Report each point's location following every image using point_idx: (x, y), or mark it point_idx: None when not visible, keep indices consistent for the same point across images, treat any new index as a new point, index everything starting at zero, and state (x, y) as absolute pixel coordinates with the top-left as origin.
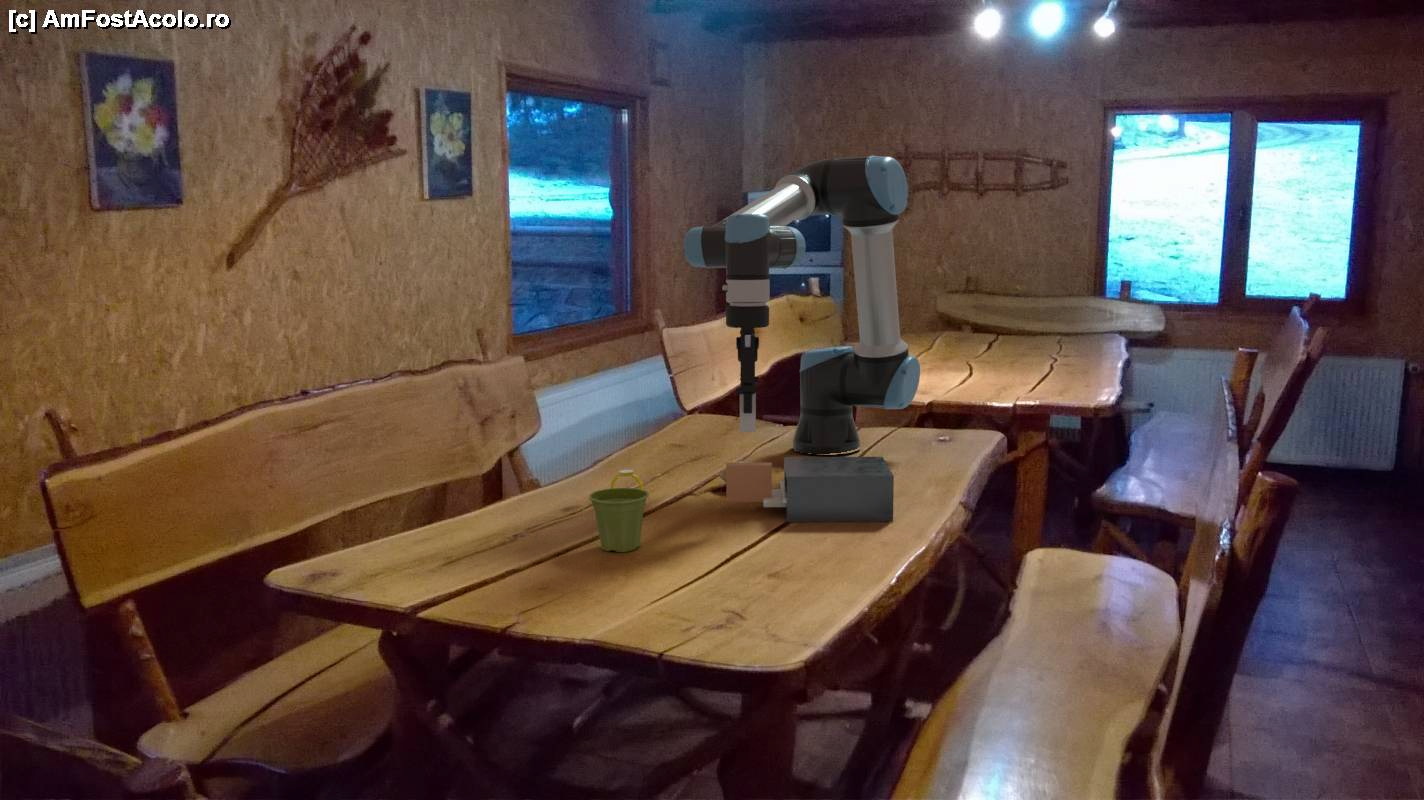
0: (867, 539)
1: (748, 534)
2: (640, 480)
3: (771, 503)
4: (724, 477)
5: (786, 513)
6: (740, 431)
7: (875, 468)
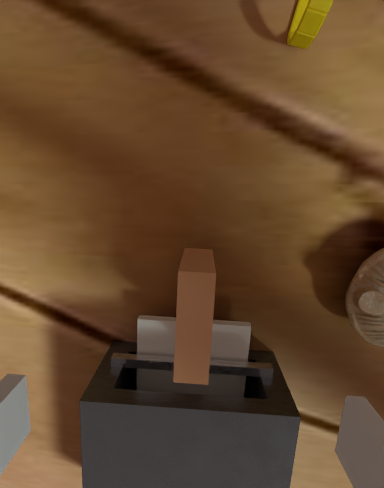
0: None
1: (35, 273)
2: (313, 25)
3: (138, 332)
4: (378, 253)
5: None
6: (4, 378)
7: None
